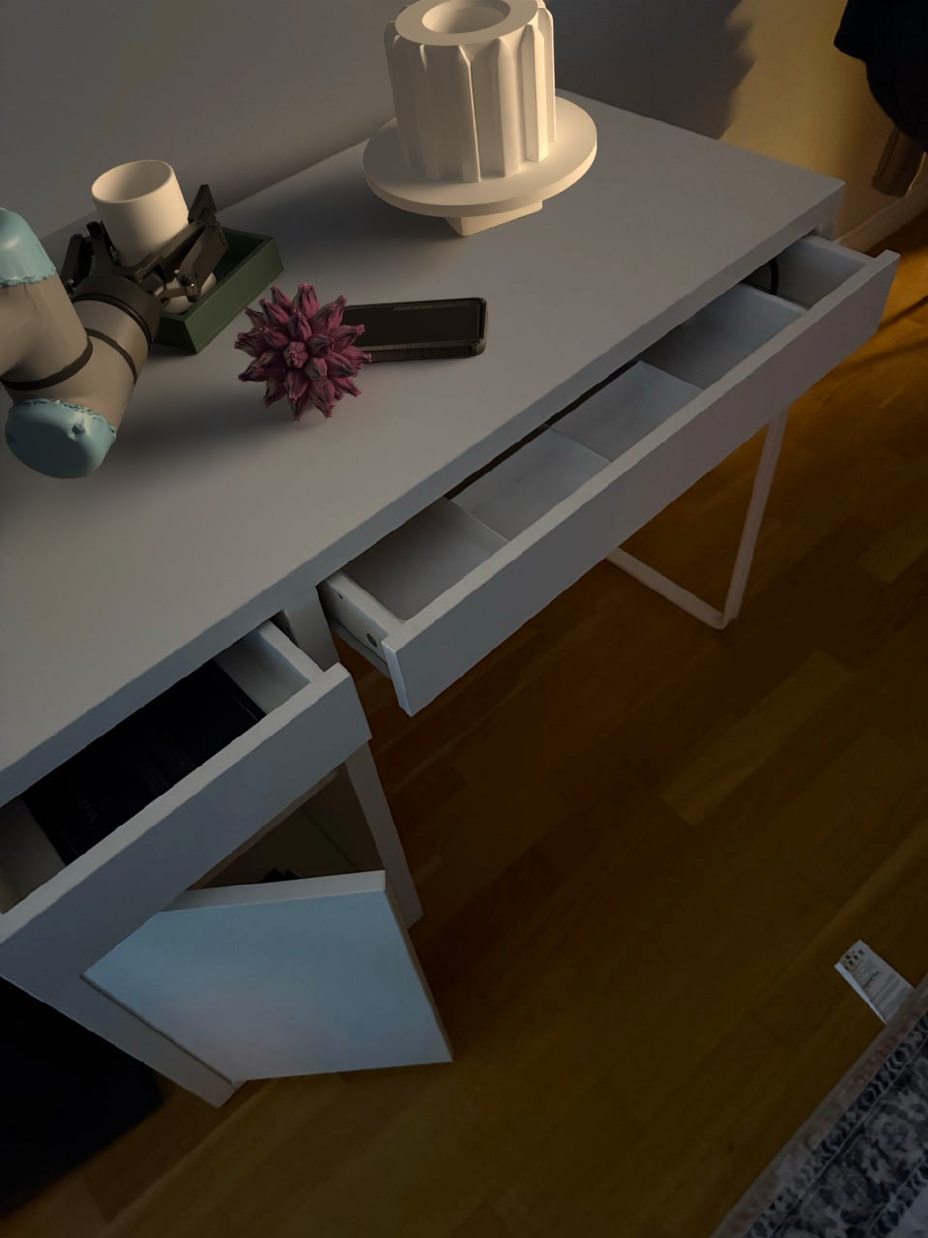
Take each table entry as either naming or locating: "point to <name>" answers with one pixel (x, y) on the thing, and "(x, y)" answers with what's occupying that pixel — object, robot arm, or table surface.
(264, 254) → the bin
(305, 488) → the table surface
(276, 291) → the flower
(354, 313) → the phone
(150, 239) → the mug
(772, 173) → the table surface
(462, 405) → the table surface
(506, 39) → the flanged gear
